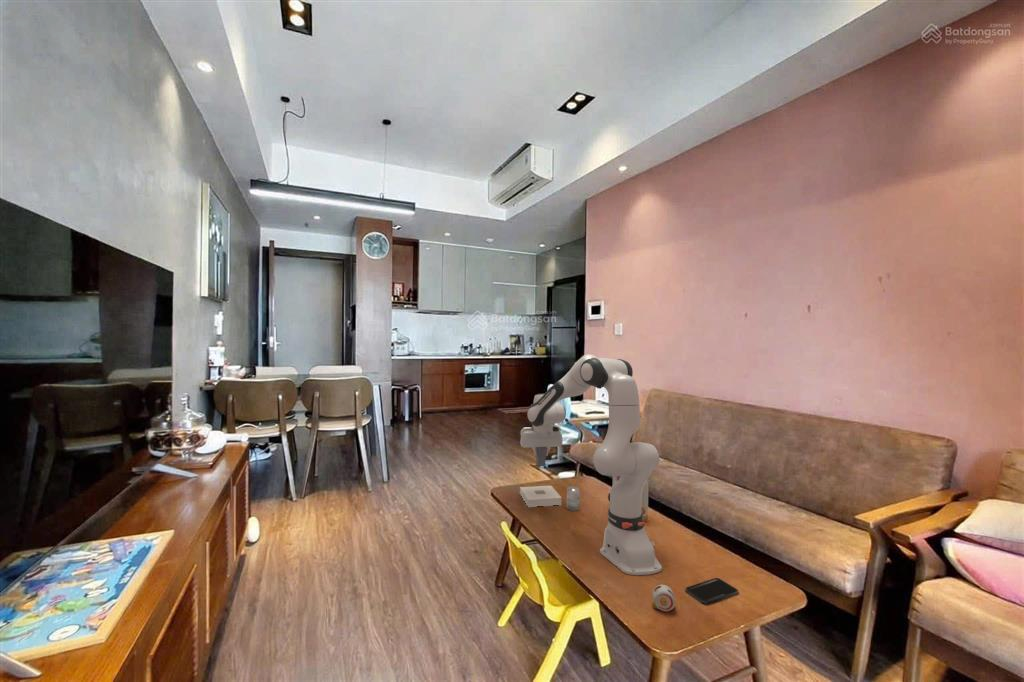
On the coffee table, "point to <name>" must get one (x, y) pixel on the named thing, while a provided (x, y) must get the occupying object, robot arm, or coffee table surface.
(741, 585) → the coffee table surface
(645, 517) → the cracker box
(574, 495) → the round peg
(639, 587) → the coffee table surface
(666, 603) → the roller toy
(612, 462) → the robot arm
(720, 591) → the phone
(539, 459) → the square peg
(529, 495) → the socket block
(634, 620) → the coffee table surface
